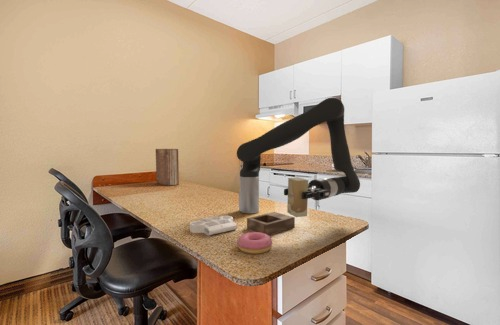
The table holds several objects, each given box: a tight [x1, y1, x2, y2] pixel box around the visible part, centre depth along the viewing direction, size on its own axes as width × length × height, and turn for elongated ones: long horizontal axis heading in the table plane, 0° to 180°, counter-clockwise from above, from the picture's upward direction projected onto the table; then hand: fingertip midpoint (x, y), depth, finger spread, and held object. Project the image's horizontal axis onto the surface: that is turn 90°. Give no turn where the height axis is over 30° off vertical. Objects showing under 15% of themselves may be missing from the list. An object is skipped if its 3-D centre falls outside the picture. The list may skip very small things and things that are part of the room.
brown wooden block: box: [155, 148, 180, 187], centre depth 218 cm, size 25×9×30 cm, turn 41°
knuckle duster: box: [189, 215, 238, 237], centre depth 99 cm, size 3×18×15 cm
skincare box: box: [286, 176, 309, 218], centre depth 86 cm, size 6×4×12 cm
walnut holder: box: [246, 211, 296, 237], centre depth 99 cm, size 11×15×4 cm
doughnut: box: [236, 231, 273, 255], centre depth 80 cm, size 11×11×4 cm
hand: (293, 194), depth 84 cm, fingers closed on skincare box, 7 cm apart
